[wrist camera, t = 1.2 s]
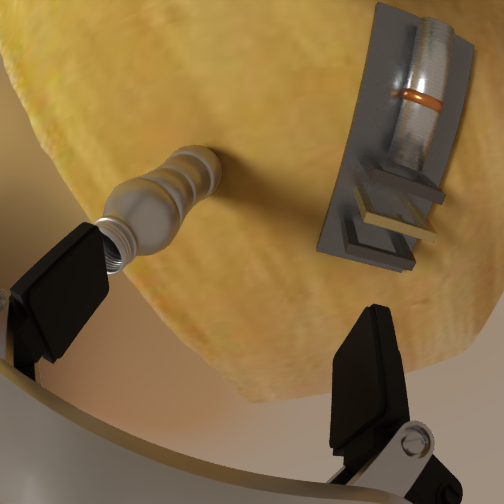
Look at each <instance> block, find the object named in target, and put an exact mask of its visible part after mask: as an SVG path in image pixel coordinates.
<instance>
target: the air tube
mask: <svg viewBox="0 0 504 504" xmlns="http://www.w3.org/2000/svg"><path fill="white" fill-rule="evenodd" d="M454 37H455V31H454V29H453V28H452V27H451V26H449V25H447V24H446V23H444V22H442V21H439V20H437V19H433V18H429V17H420V18H418V24H417V30H416V37H415V43H414V48H413V54H412V59H411V64H410V69H409V74H408V79H407V83H406V88H404V90H403V94H402V98H401V99H402V100H403V101H402V105H401V109H400V113H399V117H398V121H397V124H396V128H395V132H394V135H393V139H392V142H391V146H390V149H389V153H388V156H387V157H388V158H390V159H391V160H393V161H395V162H397V163H399V164H401V165H403V166H406V167H408V168H411V169H414V170H417V171H423V168H424V165H425V162H426V159H427V155H428V152H429V149H430V146H431V142H432V139H433V136H434V132H435V128H436V125H437V121H438V117H439V114H441V111H442V107H443V102H442V101H443V97H444V93H445V88H446V83H447V78H448V73H449V68H450V63H451V57H452V51H453V44H454Z"/></svg>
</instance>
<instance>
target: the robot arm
mask: <svg viewBox="0 0 504 504" xmlns="http://www.w3.org/2000/svg"><path fill="white" fill-rule="evenodd" d="M10 291H11V296H10V297H9V296H8V294H7V293H6V292H5V291H4V290H1V289H0V504H460V503H461V501H462V496H463V490H462V486H461V483H460V482H459V481H458V479H457V478H456V477H455V476H454V475H452V473H451V472H450V471H449V470H448V469H447V468H446V467H445V466H444V465H443V464H442V463H441V462H440V461H439V460H438V459H437V458H436V457H435V456H434V455H433V454H432V453H433V450H434V444H435V443H434V437H433V434H432V432H431V430H430V429H429V428H428V427H427V426H426V425H425V424H423V423H422V422H419V421H410V416H409V407H408V399H407V391H406V384H405V377H404V371H403V365H402V359H401V354H400V351H399V350H398V346H397V340H396V335H395V330H394V325H393V321H392V316H391V312H390V309H389V308H388V307H385V306H381V305H377V304H372V305H371V306H370V307H366V308H365V309H364V310H363V312H362V314H361V315H360V317H359V318H358V320H357V322H356V323H355V325H354V326H353V328H352V330H351V331H350V333H349V334H348V336H347V337H346V339H345V340H344V342H343V343H342V345H341V346H340V348H339V349H338V351H337V352H336V354H335V356H334V359H333V373H332V406H331V425H330V440H329V445H330V447H331V448H333V456H344V462H343V465H344V466H343V467H342V468H341V469H340V470H339V471H338V472H337V473H336V474H335V475H334V476H333V477H331V478H330V479H329V480H328V481H327V482H326V483H318V482H309V481H301V480H293V479H287V478H280V477H274V476H268V475H263V474H257V473H252V472H247V471H243V470H238V469H234V468H229V467H226V466H222V465H218V464H214V463H210V462H207V461H204V460H200V459H197V458H194V457H190V456H187V455H184V454H181V453H178V452H175V451H172V450H169V449H167V448H164V447H161V446H158V445H156V444H153V443H151V442H148V441H146V440H143V439H141V438H138V437H136V436H134V435H131V434H129V433H127V432H125V431H122V430H120V429H118V428H116V427H114V426H111V425H109V424H107V423H105V422H103V421H101V420H99V419H97V418H95V417H93V416H92V415H90V414H88V413H86V412H84V411H82V410H80V409H78V408H77V407H75V406H73V405H71V404H70V403H68V402H66V401H64V400H63V399H61V398H59V397H58V396H56V395H55V394H53V393H51V392H50V391H48V390H47V389H45V388H44V387H42V386H41V379H40V368H39V359H40V358H41V357H43V358H44V359H46V360H48V361H49V362H51V363H53V364H54V362H55V361H56V360H57V358H58V359H59V358H61V357H62V356H63V355H64V353H65V352H66V350H67V349H68V347H69V346H70V344H71V343H72V342H73V340H74V339H75V337H76V336H77V335H78V333H79V332H80V330H81V329H82V328H83V326H84V325H85V324H86V322H87V321H88V320H89V318H90V317H91V316H92V314H93V313H94V312H95V310H96V309H97V308H98V306H99V305H100V303H101V302H102V301H103V300H104V299H105V297H106V296H107V294H108V291H109V282H108V276H107V269H106V261H105V253H104V244H103V235H102V232H101V231H100V229H99V227H98V226H97V225H93V224H90V223H87V222H83V223H81V224H80V225H79V226H78V227H77V228H75V229H74V230H73V231H72V232H71V233H69V234H68V235H67V236H66V237H65V238H64V239H63V240H61V241H60V242H59V243H58V244H57V245H56V246H54V247H53V248H52V249H51V250H50V251H49V252H48V253H47V254H46V255H45V256H43V257H42V258H41V259H40V260H39V261H38V262H37V263H36V264H35V265H34V266H33V267H32V268H31V269H30V270H28V271H27V272H26V273H25V274H24V275H23V276H22V277H21V278H20V279H19V280H18V281H17V282H16V283H15V285H13V287H12V288H10Z"/></svg>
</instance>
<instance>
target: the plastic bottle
mask: <svg viewBox="0 0 504 504" xmlns="http://www.w3.org/2000/svg"><path fill="white" fill-rule="evenodd" d="M221 177H222V166H221V163H220V160H219V159H218V157H217V156H216V155H215V153H214V152H212V151H211V150H210V149H208V148H206V147H203V146H200V145H191V146H184V147H182V148H179V149H178V150H176V151H175V152H174V153H173V154H172V155H171V156H170V157H169V158H168V159H167V160H166V161H165V162H164V163H163V164H162V165H161V166H159V167H158V168H156V169H155V170H152V171H150V172H148V173H147V174H144V175H141V176H138V177H135V178H133V179H130V180H127V181H125V182H123V183H121V184H119V185H118V186H117V187H115V188H114V190H113V191H112V192H111V194H110V195H109V197H108V198H107V200H106V203H105V206H104V211H103V216H102V217H101V218H100V219H98V220H97V221H96V222H95V223H94V224H93V225H97V226H98V227H99V229H100V231H101V232H102V235H103V244H104V253H105V261H106V269H107V274H111V275H112V274H116V273H118V272H120V271H121V270H122V269H123V268H124V267H125V266H126V265H127V264H129V263H130V262H131V261H133V259H134V258H135V257H136V256H148V255H153V254H155V253H157V252H159V251H161V250H163V249H165V248H166V247H167V246H169V245H170V243H171V242H172V241H173V239H174V238H175V236H176V235H177V232H178V231H179V229H180V227H181V225H182V223H183V221H184V219H185V217H186V215H187V214H188V213H189V211H190V210H191V209H192V207H193V206H195V205H196V204H197V203H198V202H199V201H201V200H203V199H205V198H207V197H208V196H210V195H211V194H212V193H214V192H215V190H216V189H217V188H218V186H219V184H220V181H221Z"/></svg>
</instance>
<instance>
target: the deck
mask: <svg viewBox="0 0 504 504" xmlns="http://www.w3.org/2000/svg"><path fill="white" fill-rule="evenodd" d="M418 18H420V17H417V16H415V15H413V14H410V13H408V12H405V11H403V10H400V9H398V8H395V7H392V6H389V5H387V4H384V3H381V2H377V4H376V7H375V13H374V19H373V25H372V31H371V36H370V41H369V47H368V52H367V57H366V62H365V67H364V71H363V76H362V81H361V85H360V90H359V94H358V98H357V103H356V107H355V111H354V115H353V119H352V124H351V128H350V132H349V135H348V139H347V143H346V147H345V151H344V155H343V158H342V162H341V166H340V169H339V173H338V177H337V180H336V184H335V187H334V191H333V194H332V197H331V201H330V204H329V208H328V211H327V214H326V218H325V221H324V224H323V227H322V231H321V234H320V237H319V240H318V243H317V246H316V251H318V252H322V253H326V254H330V255H334V256H338V257H342V258H346V259H349V260H353V261H357V262H361V263H365V264H369V265H373V266H377V267H381V268H384V269H388V270H392V271H396V272H400V273H401V272H402V270H403V269H402V268H398V267H395V266H391V265H387V264H383V263H380V262H376V261H372V260H368V259H364V258H360V257H357V256H353V255H349V254H345V249H344V243H343V236H342V230H341V227H342V224H343V221H344V219H346V220H349V221H353V222H354V225H355V229H356V233H357V237H358V241H359V243H362V244H366V245H370V246H373V247H377V248H381V249H384V250H388V251H391V252H395V253H396V251H395V248H394V246H393V244H392V240H393V238H394V236H395V234H398V235H401V236H404V238H405V240H406V242H407V244H408V246H409V248H410V250H411V252H412V250H413V247H414V245H415V243H416V241H417V239H418V238H416V237H413V236H409V235H406V234H403V233H400V232H396V231H393V230H390V229H386V228H383V227H379V226H376V225H373V224H369V223H366V222H363V219H362V216H361V213H360V210H359V207H358V204H357V201H356V199H355V196H354V190H355V187H356V185H358V186H361V187H364V188H365V190H366V192H367V194H368V196H369V198H370V201H371V203H372V205H373V207H374V209H375V211H376V212H379V213H382V214H386V215H389V216H392V217H393V216H394V214H395V213H397V214H400V215H401V216H402V218H403V219H404V220H405V221H408V222H411V223H414V224H415V222H414V221H413V219H412V218H411V216H410V215H409V213H408V211H407V210H406V208H407V205H408V203H409V202H411V203H414V204H416V205H417V206H418V207H419V209H420V210H421V211H422V213H423V214H424V215H425V217H426V218H427V216H428V213H429V211H430V208H431V206H432V203H433V202H432V201H429V200H426V199H424V198H421V197H418V196H415V195H412V194H410V193H407V192H404V191H401V190H398V189H395V188H392V187H389V186H386V185H383V184H380V183H376V182H373V181H370V179H369V177H368V175H367V174H366V172H365V170H364V169H363V167H362V165H361V163H362V160H363V156H364V155H367V156H370V157H373V158H375V159H376V161H377V162H378V163H379V164H380V165H381V167H382V168H383V169H384V170H386V171H389V172H392V173H394V174H397V175H400V176H403V177H406V178H409V179H411V180H414V181H416V178H417V175H418V173H419V174H421V175H424V176H427V177H428V178H429V179H430V180H431V181H432V182H433V183H434V184H435V185H437V186H438V187H439V185H440V182H441V179H442V176H443V174H444V171H445V168H446V165H447V162H448V159H449V156H450V152H451V149H452V146H453V143H454V139H455V136H456V132H457V129H458V125H459V121H460V117H461V113H462V109H463V105H464V101H465V96H466V92H467V87H468V82H469V77H470V71H471V65H472V59H473V52H474V45H473V44H471V43H469V42H468V41H466V40H464V39H462V38H460V37H459V36H457V35H455V37H454V44H453V51H452V57H451V63H450V68H449V73H448V78H447V83H446V88H445V93H444V97H443V101H442V102H443V107H442V111H441V114H439V117H438V121H437V125H436V128H435V132H434V136H433V139H432V142H431V146H430V149H429V152H428V155H427V159H426V162H425V165H424V168H423V171H417V170H414V169H411V168H408V167H406V166H403V165H401V164H399V163H397V162H395V161H393V160H391V159H390V158H388V157H387V156H388V153H389V149H390V146H391V142H392V139H393V135H394V132H395V128H396V124H397V121H398V117H399V113H400V109H401V105H402V101H403V100H402V99H401V98H402V94H403V90H404V88H406V83H407V79H408V74H409V69H410V64H411V59H412V54H413V48H414V43H415V37H416V30H417V24H418Z"/></svg>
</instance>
